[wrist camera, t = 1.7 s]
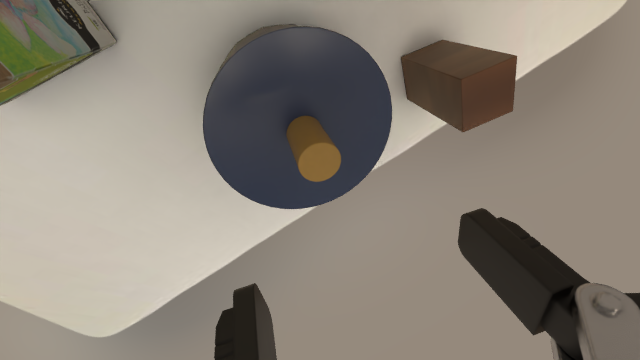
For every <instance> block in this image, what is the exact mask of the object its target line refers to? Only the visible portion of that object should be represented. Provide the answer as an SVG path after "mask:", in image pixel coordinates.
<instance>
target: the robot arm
mask: <svg viewBox="0 0 640 360" xmlns="http://www.w3.org/2000/svg"><path fill="white" fill-rule="evenodd" d="M458 245H459V248H460V251H461V253H462V254H463V256H464V257H465V258H466V259H467V261H468V262H469V263H470V264H471V265H472V266H473V267H474V269H475V270H476V271H477V272H478V273H479V274H480V275H481V277H482V278H483V279H484V280H485V281H486V282H487V283H488V284H489V286H490V287H491V288H492V289H493V290H494V291H495V292H496V293H497V295H498V296H499V297H500V298H501V299H502V300H503V302H504V303H505V304H506V305H507V306H508V307H509V308H510V309H511V311H512V312H513V313H514V314H515V315H516V316H517V317H518V319H519V320H520V321H521V322H522V323H523V324H524V325H525V327H526V328H527V329H528V330H529V331H530V332H531V333H532V334H533V335H536V334H538V333H541V332H543V331H546V332H547V333H548V334H549V335H550V336H551V347H552V352H553V358H554V360H640V293H622V292H621V291H618V290H617V289H615V288H612V287H610V286H607V285H603V284H598V283H590V282H588V281H587V280H585V279H584V278H583V277H581V276H580V275H579V274H578V273H577V272H575V271H574V270H573V269H572V268H570V267H569V266H568V265H567V264H565V263H564V262H563V261H562V260H560V259H559V258H558V257H557V256H556V255H554V254H553V253H552V252H550V251H549V250H548V249H547V248H546V247H544V246H543V245H541V244H540V242H538V241H537V240H536V239H535V238H533V237H531V236H530V235H529V234H528V233H527V232H526V231H525V230H523V229H522V228H521V227H520V226H519V225H517V224H515V223H513V222H511V221H509V220H506V219H504V218H502V217H500V218H496V217H494V216H493V215H492V214H491V213H490V212H488V211H487V210H486V209H483V208H481V209H477V210H475V211H472V212H469V213H466V214H463V215H462V216H461V220H460V229H459V238H458ZM215 345H216V347H215V356H214V358H215V360H277V358H276V349H275V341H274V333H273V324H272V319H271V314H270V311H269V308H268V306H267V304H266V302H265V300H264V298H263V296H262V294H261V292H260V290H259V288H258V286H257V285H256V284H255V283H254V284H251V285H248V286H246V287H243V288H239V289H236V290H234V294H233V308H230V309H227V310H224V311H223V312H222V314H221V316H220V319H219V321H218V324H217V326H216V337H215Z"/></svg>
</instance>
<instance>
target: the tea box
mask: <svg viewBox="0 0 640 360" xmlns="http://www.w3.org/2000/svg"><path fill="white" fill-rule="evenodd" d="M115 43H116V40H115V39H114V37H113V36H112V35H111V33H110V32H109V31H108V29H107V28H106V27H105V25H104V24H103V23H102V21H101V20H100V18H99V17H98V16H97V14H96V13H95V12H94V10H93V9H92V8H91V6H90V5H89V4H88V2H87V1H86V0H0V106H1V105H3V104H6V103H8V102H10V101H12V100H14V99H15V98H17V97H19V96H21V95H23V94H24V93H26V92H28V91H30V90H31V89H33V88H35V87H37V86H39V85H41V84H43V83H44V82H46V81H48V80H50V79H52V78H53V77H55V76H57V75H59V74H61V73H63V72H64V71H66V70H68V69H70V68H72V67H74V66H75V65H77V64H79V63H81V62H83V61H84V60H86V59H88V58H90V57H92V56H93V55H95V54H97V53H99V52H101V51H102V50H104V49H106V48H108V47H110V46H112V45H114V44H115Z"/></svg>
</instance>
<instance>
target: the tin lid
mask: <svg viewBox="0 0 640 360" xmlns="http://www.w3.org/2000/svg"><path fill="white" fill-rule="evenodd" d="M391 121H392V104H391V96H390V92H389V88H388V85H387V82H386V80H385V77H384V75H383V73H382V71H381V70H380V68H379V66H378V65H377V63H376V62H375V61H374V59H373V58H372V57H371V56H370V55H369V53H368V52H366V51H365V50H364V49H363V48H362V47H361V46H360V45H359V44H357V43H355V42H354V41H352V40H351V39H349V38H348V37H345V36H343V35H341V34H339V33H337V32H334V31H331V30H327V29H324V28H320V27H312V26H290V27H285V28H279V29H275V30H272V31H269V32H267V33H264V34H261V35H260V36H258V37H256V38H254V39H252V40H250V41H249V42H247V43H246V44H244V45H243V46H242V47H240V48H239V49H238V50H237V51H235V52H234V53H233V54H232V55H231V56H230V57H229V58H228V59H227V61H226V62H225V63H224V64H223V66H222V67H221V68H220V70H219V71H218V73H217V75H216V77H215V78H214V80H213V82H212V84H211V87H210V89H209V92H208V95H207V98H206V103H205V108H204V115H203V131H204V139H205V144H206V148H207V151H208V153H209V156H210V158H211V161H212V163H213V164H214V166H215V168H216V169H217V171H218V172H219V174H220V175H221V176H222V177H223V179H224V180H225V181H226V182H227V183H228V184H229V185H230V186H231V187H232V188H233V189H235V190H236V191H237V192H239V193H240V194H242V195H243V196H245V197H247V198H249V199H250V200H253V201H255V202H257V203H260V204H263V205H266V206H270V207H275V208H281V209H302V208H308V207H314V206H317V205H321V204H324V203H327V202H329V201H332V200H334V199H336V198H338V197H340V196H342V195H344V194H345V193H346V192H348V191H350V190H351V189H352V188H354V187H355V186H356V185H358V184H359V183H360V182H361V181H362V180H363V179H364V178H365V177H366V176H367V175H368V174H369V172H370V171H371V170H372V169H373V167H374V166H375V164H376V163H377V161H378V160H379V158H380V156H381V154H382V152H383V150H384V148H385V145H386V143H387V140H388V137H389V133H390V128H391Z"/></svg>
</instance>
